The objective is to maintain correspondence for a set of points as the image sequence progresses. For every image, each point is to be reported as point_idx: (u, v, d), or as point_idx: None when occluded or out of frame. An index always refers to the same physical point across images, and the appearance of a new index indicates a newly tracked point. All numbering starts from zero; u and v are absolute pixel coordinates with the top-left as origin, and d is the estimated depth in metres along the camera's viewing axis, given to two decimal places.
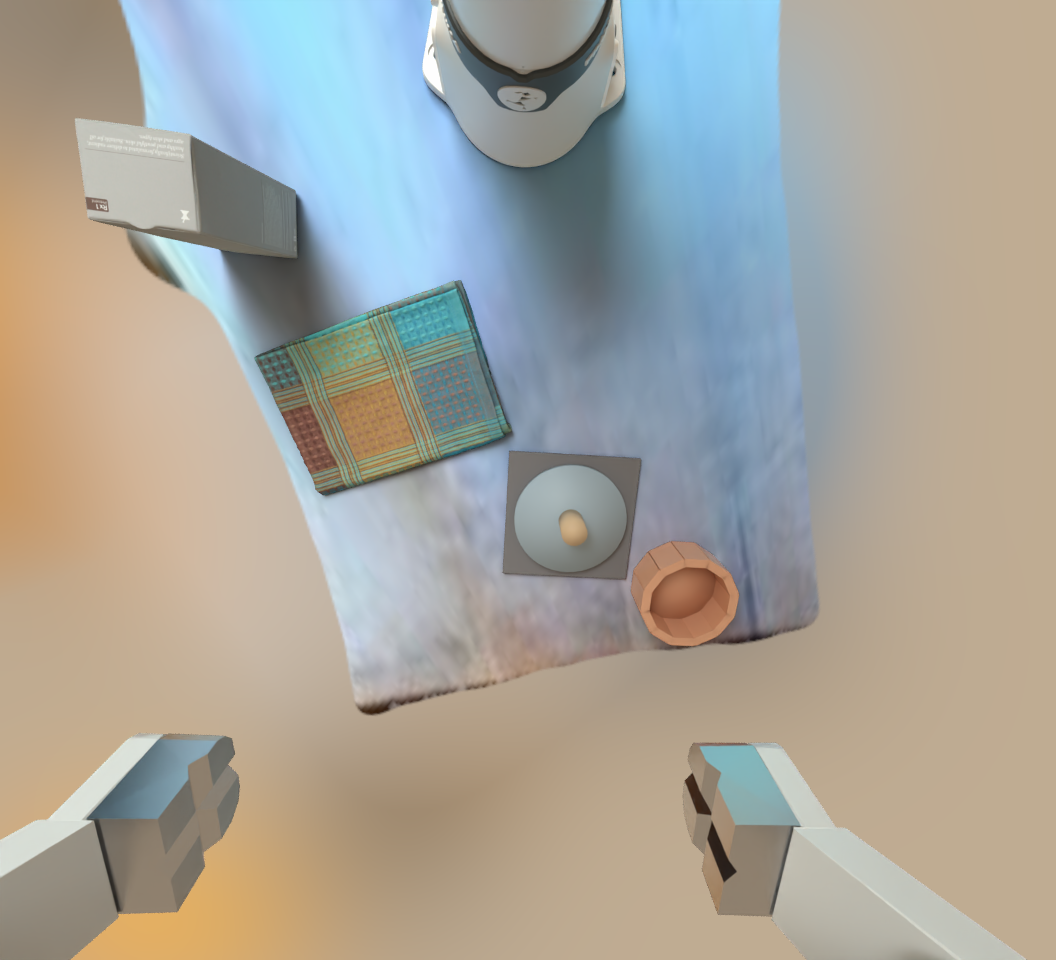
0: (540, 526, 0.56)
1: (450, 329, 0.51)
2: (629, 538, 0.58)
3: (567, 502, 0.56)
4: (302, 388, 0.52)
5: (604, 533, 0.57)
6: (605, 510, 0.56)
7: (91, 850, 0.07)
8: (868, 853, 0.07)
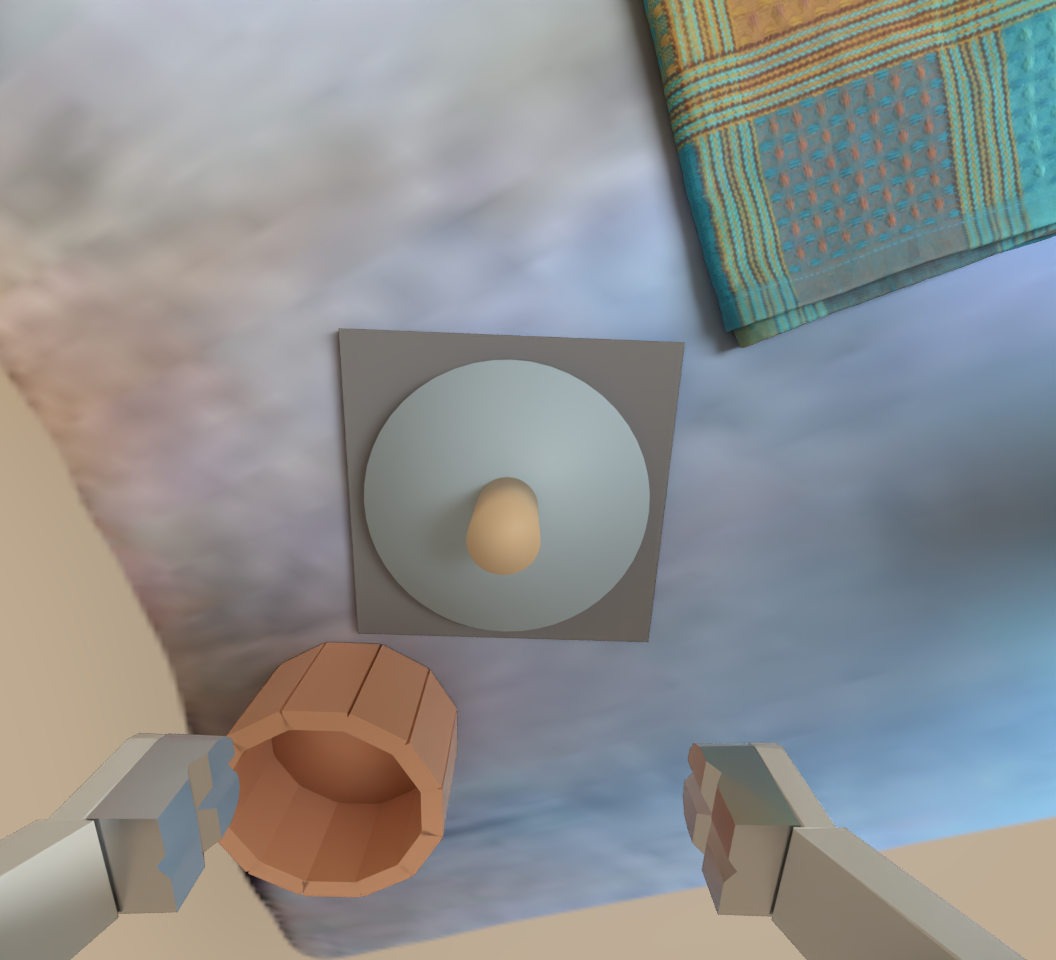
0: (489, 431, 0.21)
1: (1031, 175, 0.19)
2: (461, 633, 0.25)
3: (555, 495, 0.22)
4: None
5: (477, 587, 0.23)
6: (534, 584, 0.23)
7: (91, 850, 0.07)
8: (868, 853, 0.07)
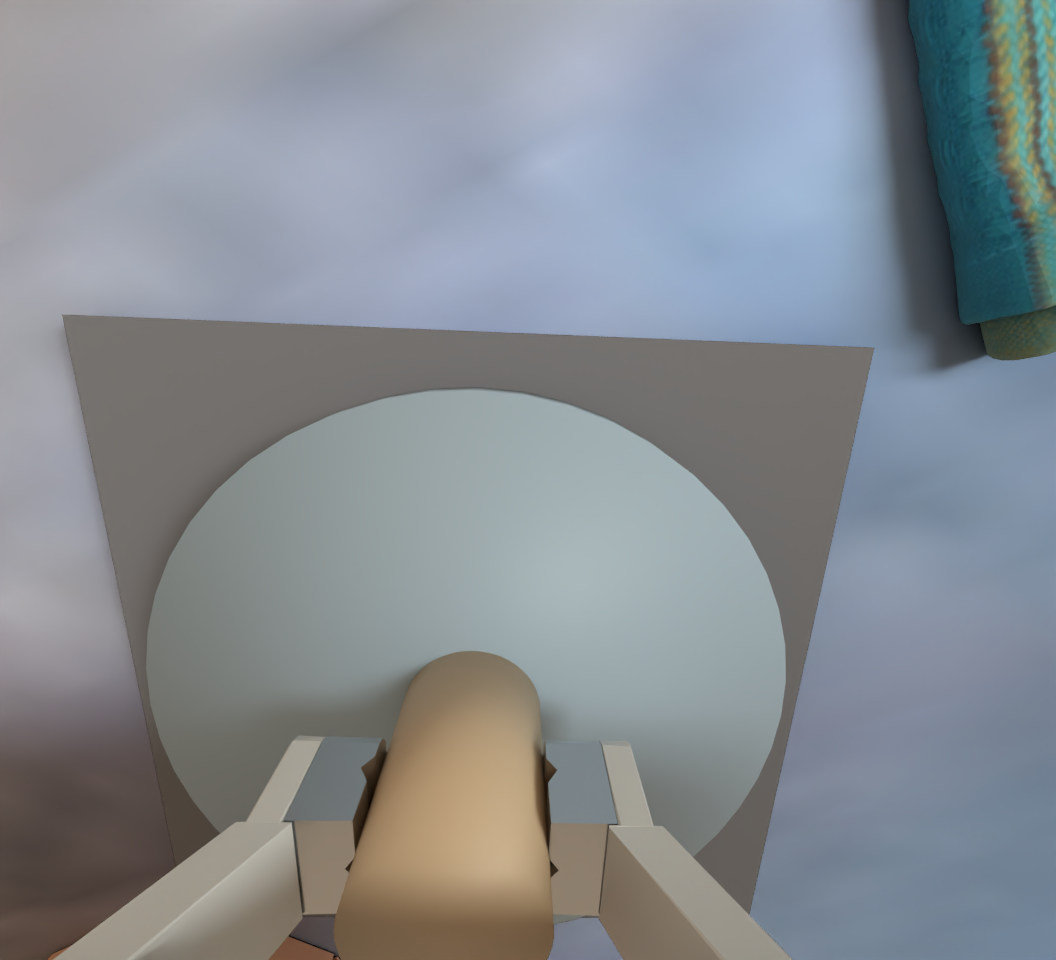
0: (426, 555, 0.09)
1: None
2: None
3: (577, 686, 0.10)
4: None
5: None
6: None
7: (288, 851, 0.07)
8: (674, 852, 0.06)
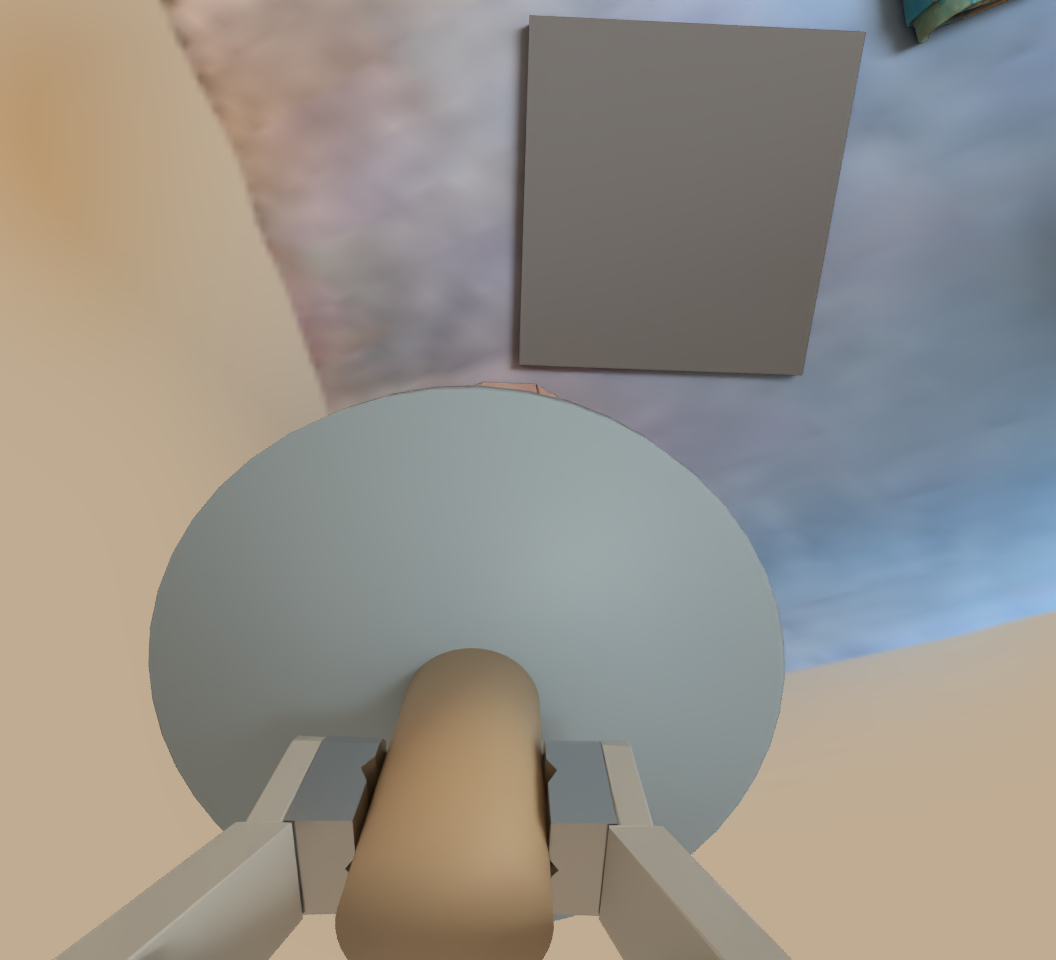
0: (427, 553, 0.09)
1: None
2: (620, 365, 0.26)
3: (577, 684, 0.10)
4: None
5: None
6: None
7: (288, 851, 0.07)
8: (674, 851, 0.06)
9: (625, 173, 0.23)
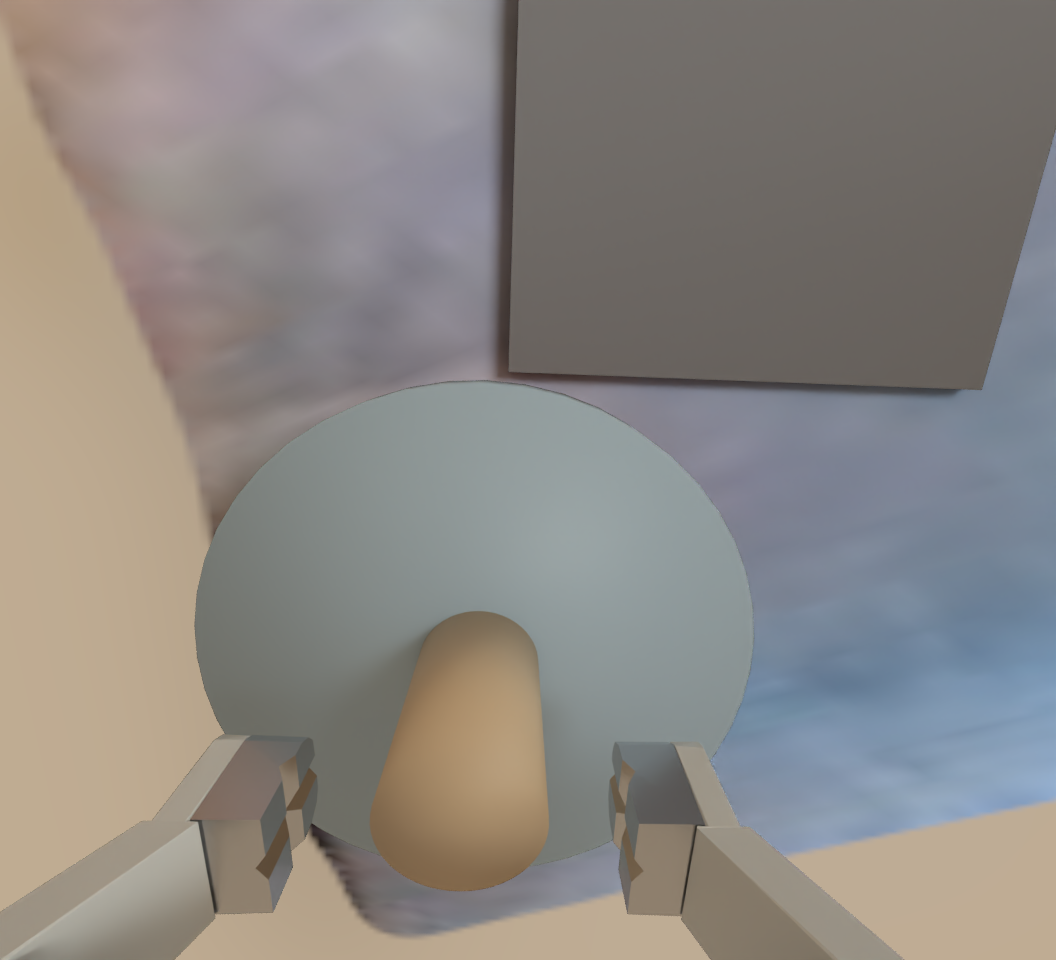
0: (440, 526, 0.11)
1: None
2: (680, 373, 0.15)
3: (572, 644, 0.11)
4: None
5: None
6: None
7: (195, 851, 0.07)
8: (767, 852, 0.06)
9: (701, 25, 0.13)
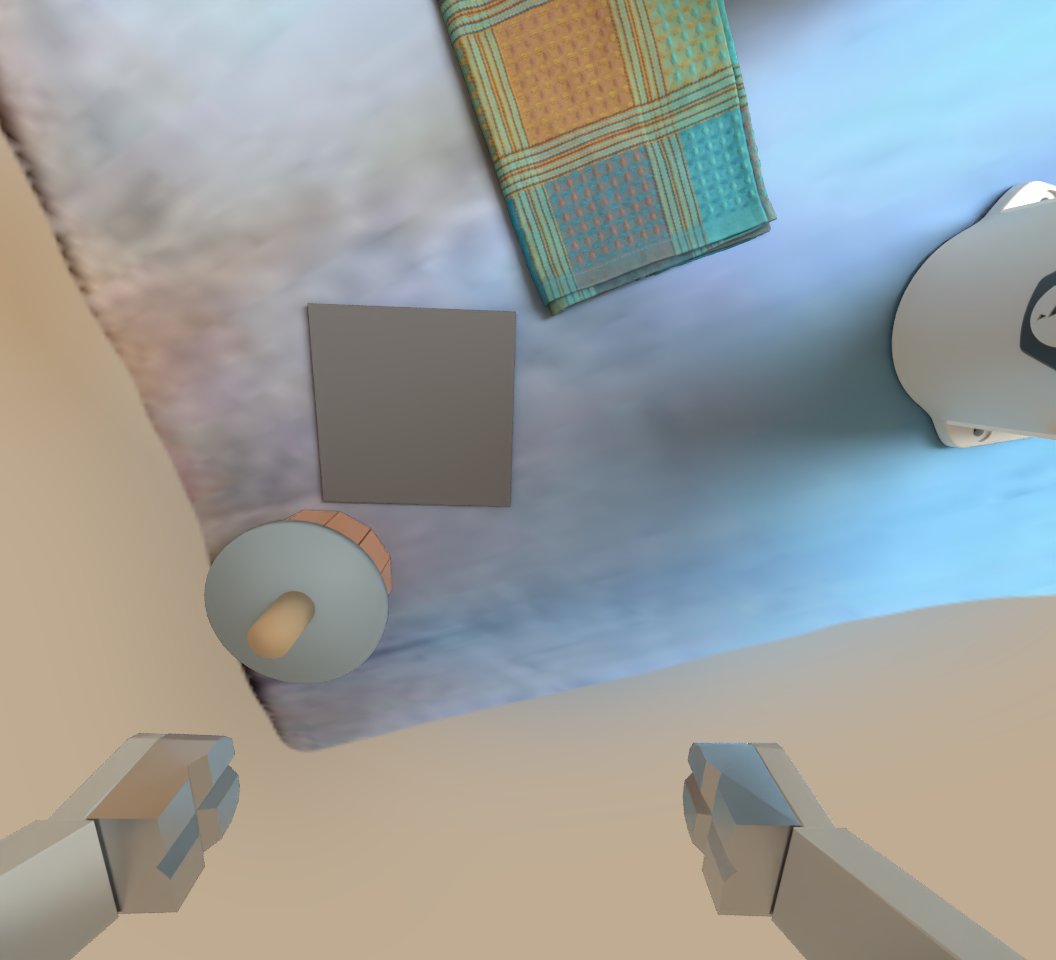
0: (279, 564, 0.35)
1: (706, 213, 0.34)
2: (390, 501, 0.39)
3: (325, 601, 0.36)
4: None
5: (283, 656, 0.37)
6: (319, 654, 0.37)
7: (91, 850, 0.07)
8: (868, 853, 0.07)
9: (378, 389, 0.37)
